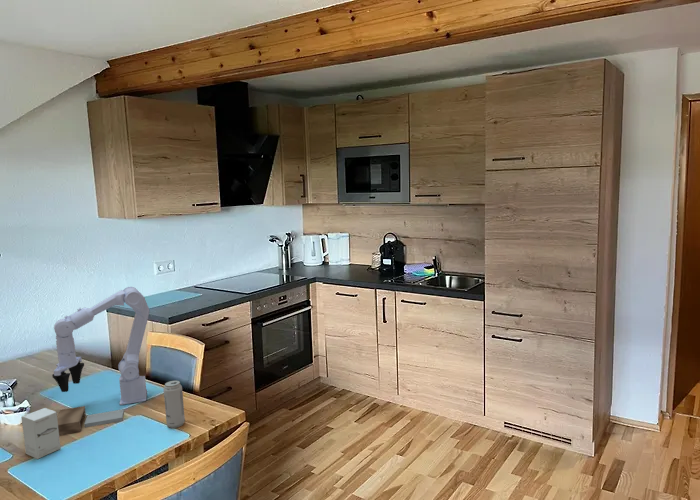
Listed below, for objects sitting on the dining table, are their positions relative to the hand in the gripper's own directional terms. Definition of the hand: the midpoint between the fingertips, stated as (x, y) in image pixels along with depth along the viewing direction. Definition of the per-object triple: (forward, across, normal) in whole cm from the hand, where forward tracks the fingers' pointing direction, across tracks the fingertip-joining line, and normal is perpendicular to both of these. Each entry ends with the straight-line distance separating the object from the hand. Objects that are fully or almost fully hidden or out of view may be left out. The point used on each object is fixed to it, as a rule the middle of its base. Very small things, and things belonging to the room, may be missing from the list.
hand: (70, 387), depth 189 cm
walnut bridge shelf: (+10, +10, +4) cm, 15 cm away
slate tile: (+11, +6, +15) cm, 19 cm away
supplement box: (+10, +28, +6) cm, 30 cm away
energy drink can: (+10, +12, +43) cm, 45 cm away
